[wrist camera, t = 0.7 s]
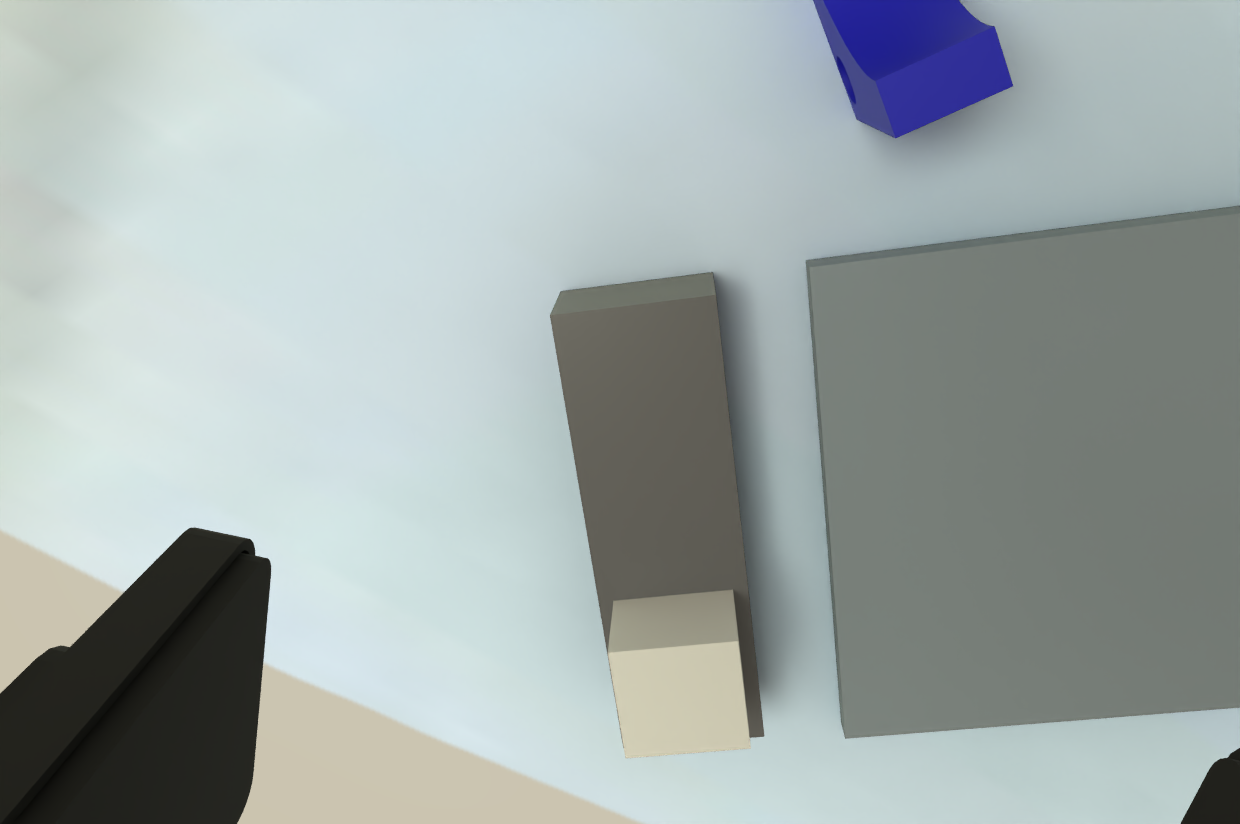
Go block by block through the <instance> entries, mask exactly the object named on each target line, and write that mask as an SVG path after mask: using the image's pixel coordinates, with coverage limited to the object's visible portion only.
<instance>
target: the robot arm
mask: <svg viewBox="0 0 1240 824" xmlns="http://www.w3.org/2000/svg"><path fill="white" fill-rule="evenodd" d="M270 579H271V564H270V561H269V559H268V558H263V557H259V556H255V548H254V543H253V542H252V541H251V539H247V538H242V537H238V536H233V535H228V534H223V533H218V532H214V531H209V530H204V529H199V528H189V529H188V530H186V531H185V532H184V533H183V534H182V535H181V536H180V537H179V538H178V539H177V540H176V541H175V542H174V543H173V544H172V545H171V546H170V547H169V548H168V549H167V550H166V551H165V552H164V553H163V554H162V555H161V556H160V557H159V558H158V559H157V560H156V561H155V562H154V563H153V564H152V565H151V566H150V567H149V568H148V569H147V570H146V571H145V572H144V573H143V574H142V575H141V576H140V577H139V578H138V579H137V580H136V581H135V582H134V583H133V584H132V585H131V586H130V587H129V588H128V589H127V590H126V591H125V592H124V593H123V594H122V595H121V596H120V597H119V598H118V599H117V600H116V601H115V602H114V603H113V604H112V605H111V606H110V607H109V608H108V609H107V610H106V611H105V612H104V613H103V614H102V615H101V616H100V617H99V618H98V619H97V620H96V622H95V623H93V625H92V626H90V628H89V629H88V630H87V631H86V632H85V633H84V634H83V635H82V636H81V637H80V638H79V639H78V640H77V641H76V642H75V643H74V644H73V645H72V646H71V647H66V646H58V647H54V648H50V649H48V650H47V651H46V652H45V653H43V654H42V655H40V656H39V657H38V658H36V659H35V660H34V661H33V662H32V663H31V664H30V665H29V666H28V667H27V668H26V669H25V670H24V671H23V672H22V673H21V674H20V675H19V676H18V677H17V678H16V679H15V680H14V681H13V682H12V683H11V684H10V685H9V686H8V687H7V688H6V689H5V690H4V691H2V692H1V693H0V824H237V822H238V821H239V819H240V817H241V814H242V812H243V810H244V807H245V805H246V802H247V799H248V796H249V793H250V789H251V785H252V779H253V771H254V760H255V749H256V737H257V726H258V714H259V704H260V692H261V680H262V670H263V658H264V647H265V636H266V624H267V613H268V602H269V590H270ZM1181 824H1240V748H1239V749H1237V750H1236V751H1234V752H1233V753H1231V754H1230V756H1229V757H1228V758H1223V759H1219V760H1218V761H1216V762H1215V763H1214V764H1213V765H1212V767H1211V768H1210V769H1209V771H1208V773H1207V775H1206V777H1205V779H1204V781H1203V782H1202V784H1201V786H1200V788H1199V790H1198V792H1197V794H1196V796H1195V797H1194V799H1193V801H1192V803H1191V805H1190V807H1189V809H1188V811H1187V813H1186V814H1185V816H1184V818H1183V820H1182V822H1181Z"/></svg>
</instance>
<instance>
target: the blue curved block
mask: <svg viewBox="0 0 1240 824" xmlns="http://www.w3.org/2000/svg"><path fill="white" fill-rule="evenodd" d="M813 1H814V4H815V7H816V9H817V12H818V15H819V18H820V20H821V23H822V26H823V29H824V31H825V34H826V37H827V39H828V42H829V45H830V48H831V50H832V53H833V56H834V59H835V61H836V64H837V67H838V70H839V72H840V75H841V78H842V81H843V83H844V86H845V89H846V91H847V94H848V97H849V100H850V102H851V105H852V108H853V111H854V113H855V116H856V119H857V120H859V121H861V122H863V123H865V124H867V125H869V126H871V127H873V128H875V129H877V130H880V131H882V132H884V133H886V134H888V135H890V136H892V137H894V138H897V137H900V136H902V135H904V134H906V133H909V132H911V131H913V130H915V129H918V128H920V127H922V126H924V125H927V124H929V123H931V122H933V121H936V120H938V119H940V118H942V117H945V116H947V115H949V114H951V113H954V112H956V111H958V110H960V109H963V108H965V107H967V106H969V105H972V104H974V103H976V102H978V101H981V100H983V99H985V98H987V97H990V96H992V95H994V94H996V93H999V92H1001V91H1003V90H1005V89H1008V88H1010V87H1012V86H1013V84H1012V81H1011V78H1010V74H1009V71H1008V68H1007V65H1006V62H1005V58H1004V55H1003V52H1002V49H1001V45H1000V42H999V39H998V36H997V33H996V29H995V26H988V25H986V24H984V23H982V22H980V21H979V20H977V19H976V18H975V17H974V16H973V15H971V14H970V13H969V12H968V11H967V10H966V8H965V7H964V6H963V5H962V4H961V3H960V1H959V0H813Z"/></svg>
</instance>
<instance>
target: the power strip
mask: <svg viewBox="0 0 1240 824" xmlns="http://www.w3.org/2000/svg"><path fill="white" fill-rule="evenodd" d="M550 318H551V324H552V330H553V336H554V342H555V347H556V353H557V359H558V365H559V371H560V377H561V383H562V389H563V395H564V400H565V406H566V412H567V418H568V424H569V430H570V436H571V442H572V448H573V453H574V459H575V465H576V471H577V477H578V483H579V489H580V495H581V501H582V506H583V512H584V518H585V524H586V530H587V536H588V542H589V548H590V554H591V559H592V565H593V571H594V577H595V583H596V589H597V595H598V601H599V607H600V612H601V618H602V624H603V630H604V636H605V642H606V648H607V654H608V660H609V665H610V671H611V677H612V683H613V689H614V695H615V701H616V707H617V713H618V718H619V724H620V730H621V736H622V742H623V748H624V751H625V757H626V758H636V757H648V756H661V755H674V754H686V753H699V752H712V751H725V750H737V749H750V748H751V747H750V738H751V737H764V729H763V720H762V711H761V701H760V692H759V683H758V674H757V665H756V656H755V647H754V637H753V628H752V619H751V610H750V601H749V592H748V583H747V574H746V564H745V555H744V546H743V537H742V528H741V519H740V510H739V500H738V491H737V482H736V473H735V464H734V455H733V446H732V437H731V427H730V418H729V409H728V400H727V391H726V382H725V373H724V363H723V354H722V345H721V336H720V327H719V318H718V309H717V300H716V292H715V285H714V279H713V272H711V273H703V274H695V275H687V276H679V277H671V278H663V279H655V280H647V281H639V282H631V283H623V284H615V285H607V286H599V287H592V288H584V289H576V290H568V291H561V292H560V294H559V297H558V299H557V301H556V303H555V305H554V308H553V310H552V312H551V314H550Z"/></svg>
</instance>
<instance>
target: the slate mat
mask: <svg viewBox="0 0 1240 824" xmlns="http://www.w3.org/2000/svg"><path fill="white" fill-rule="evenodd" d="M806 270H807V283H808V296H809V309H810V322H811V335H812V348H813V361H814V374H815V387H816V400H817V413H818V427H819V440H820V453H821V466H822V479H823V492H824V505H825V518H826V531H827V544H828V557H829V570H830V583H831V596H832V609H833V622H834V635H835V649H836V662H837V675H838V688H839V701H840V714H841V723H842V727H843V731H844V736H845V739H846V738H859V737H871V736H884V735H897V734H909V733H922V732H935V731H947V730H960V729H973V728H985V727H998V726H1011V725H1023V724H1036V723H1049V722H1061V721H1074V720H1087V719H1099V718H1112V717H1125V716H1137V715H1150V714H1163V713H1175V712H1188V711H1201V710H1214V709H1226V708H1239V707H1240V206H1235V207H1227V208H1219V209H1211V210H1203V211H1195V212H1187V213H1179V214H1171V215H1163V216H1155V217H1148V218H1140V219H1132V220H1124V221H1116V222H1108V223H1100V224H1092V225H1084V226H1076V227H1068V228H1060V229H1052V230H1044V231H1036V232H1028V233H1020V234H1012V235H1005V236H997V237H989V238H981V239H973V240H965V241H957V242H949V243H941V244H933V245H925V246H917V247H909V248H901V249H893V250H885V251H877V252H870V253H862V254H854V255H846V256H838V257H830V258H822V259H814V260H806Z"/></svg>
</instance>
